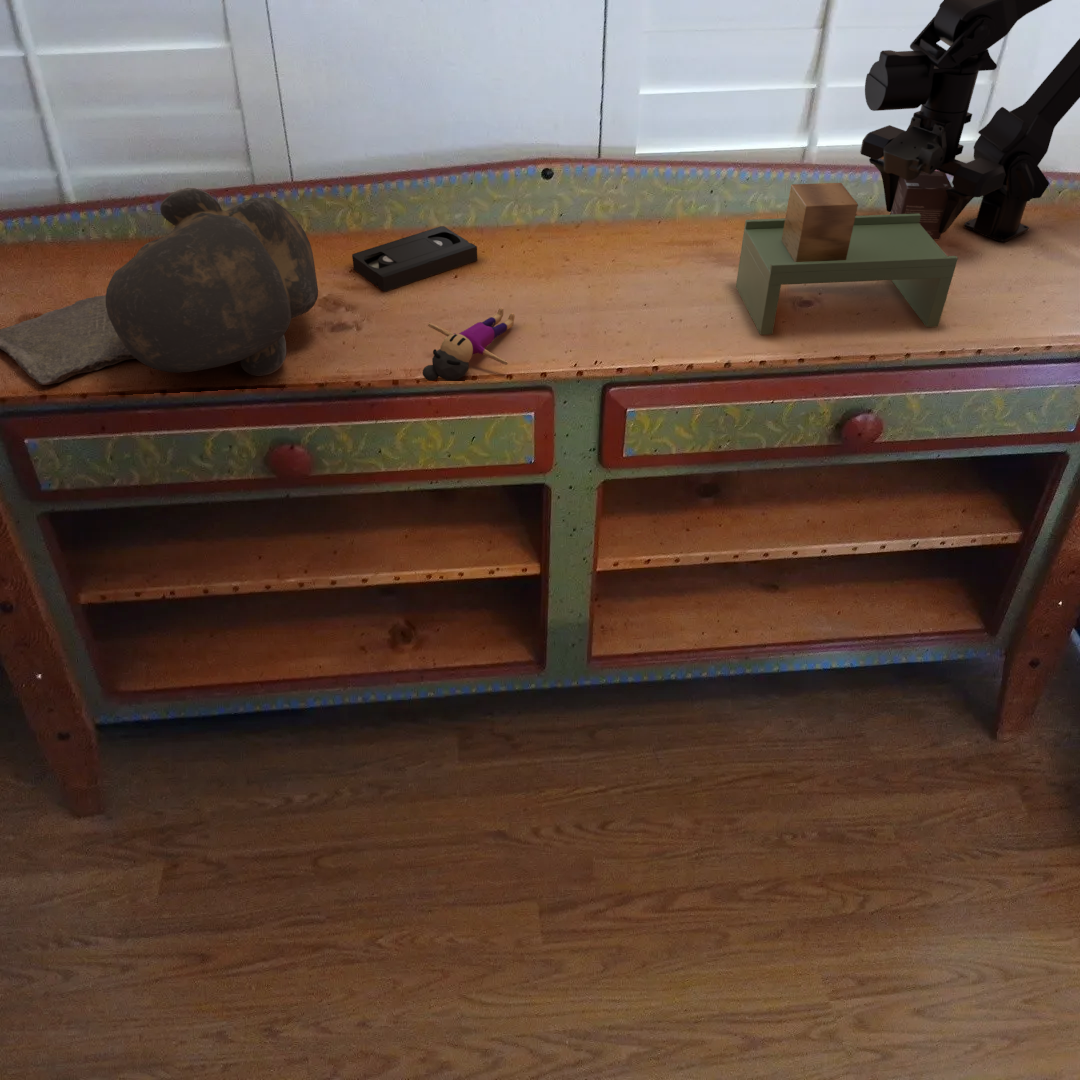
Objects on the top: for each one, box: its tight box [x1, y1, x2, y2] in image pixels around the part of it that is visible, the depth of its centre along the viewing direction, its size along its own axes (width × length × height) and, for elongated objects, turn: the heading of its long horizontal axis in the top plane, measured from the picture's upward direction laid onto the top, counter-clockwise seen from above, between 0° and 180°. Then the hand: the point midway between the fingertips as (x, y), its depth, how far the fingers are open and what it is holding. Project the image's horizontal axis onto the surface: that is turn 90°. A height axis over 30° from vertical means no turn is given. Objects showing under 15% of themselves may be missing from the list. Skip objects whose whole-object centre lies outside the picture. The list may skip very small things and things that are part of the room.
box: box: [889, 170, 953, 241], centre depth 144 cm, size 6×6×7 cm
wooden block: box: [782, 182, 859, 262], centre depth 123 cm, size 6×6×7 cm
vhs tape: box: [351, 225, 478, 293], centre depth 138 cm, size 14×8×2 cm, turn 128°
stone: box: [0, 295, 136, 386], centre depth 122 cm, size 17×3×15 cm
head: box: [105, 187, 319, 377], centre depth 116 cm, size 21×23×25 cm
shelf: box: [735, 213, 959, 336], centre depth 129 cm, size 22×12×9 cm, turn 96°
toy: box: [422, 307, 516, 382], centre depth 122 cm, size 10×6×15 cm
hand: (915, 221), depth 146 cm, fingers closed on box, 8 cm apart
